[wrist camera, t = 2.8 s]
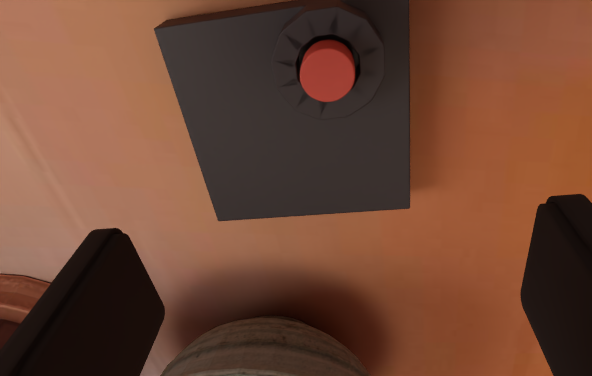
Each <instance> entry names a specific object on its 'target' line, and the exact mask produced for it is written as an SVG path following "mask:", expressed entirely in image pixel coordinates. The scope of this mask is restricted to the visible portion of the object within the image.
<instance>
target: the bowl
mask: <svg viewBox="0 0 592 376" xmlns="http://www.w3.org/2000/svg"><path fill="white" fill-rule="evenodd" d="M161 376H371V375H370V374H369V372H368V371H367V369H366V368H365V367H364V366H363V364H362V363H361V362H360V360H359V359H358V358H357V357H356V356H355V355H354V354H353V353H352V352H351V351H350V350H349V349H348V348H346V347H345V346H344V345H342V344H341V343H340V342H338V341H337V340H336V339H334V338H333V337H331V336H330V335H328V334H326V333H324V332H322V331H320V330H318V329H316V328H314V327H311V326H309V325H307V324H305V323H304V322H302V321H299V320H296V319H293V318H289V317H283V316H270V315H267V316H259V317H254V318H251V319H244V320H237V321H234V322H230V323H226V324H223V325H219V326H217V327H215V328H213V329H211V330H210V331H208V332H206V333H204V334H202V335H201V336H200V337H198V338H197V339H195V340H194V341H193V342H192V343H191V344H190V345H188V346H187V347H186V348H185V349H184V350H183V351H182V352H181V353H180V354H179V355H178V356H177V357H176V358H175V359H174V360H173V361H172V362H171V363H170V364H169V365H168V366H167V367H166V368H165V370H164V371H163V373H162V374H161Z"/></svg>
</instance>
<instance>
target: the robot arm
mask: <svg viewBox="0 0 592 376" xmlns="http://www.w3.org/2000/svg"><path fill="white" fill-rule="evenodd" d="M521 302H522V306H523V309H524V311H525V313H526V315H527V318H528V320H529V322H530V324H531V327H532V329H533V331H534V333H535V335H536V338H537V340H538V342H539V344H540V347H541V349H542V351H543V353H544V355H545V358H546V360H547V362H548V364H549V367H550V369H551V371H552V373H553V375H554V376H592V203H591V202H590V201H589V200H588V198H587V197H586V196H584V195H582V194H574V195H560V196H551V197H549V198H548V199H547V202H546V204H540V205H539V206H538V209H537V213H536V218H535V223H534V228H533V233H532V238H531V243H530V248H529V253H528V258H527V263H526V268H525V272H524V277H523V282H522V287H521ZM164 316H165V308H164V305H163V302H162V301H161V299H160V297H159V295H158V293H157V291H156V289H155V287H154V285H153V283H152V281H151V279H150V277H149V275H148V273H147V271H146V269H145V267H144V265H143V263H142V261H141V259H140V257H139V255H138V253H137V251H136V249H135V247H134V246H133V244H132V242H131V240H130V238H129V236H128V235H127V234H124V233H123V232H122V231H121V230H120V229H118V228H110V229H96V230H93V231H91V232H90V233H89V234H88V236H87V237H86V238H85V240H84V241H83V242H82V244H81V245H80V246H79V248H78V249H77V250H76V251H75V253H74V254H73V255H72V257H71V258H70V259H69V261H68V262H67V263H66V265H65V266H64V267H63V269H62V270H61V271H60V272H59V274H58V275H57V276H56V278H55V279H54V280H53V282H52V283H51V284H50V286H49V287H48V288H47V289H46V291H45V292H44V293H43V295H42V296H41V297H40V299H39V300H38V301H37V303H36V304H35V305H34V306H33V308H32V309H31V310H30V312H29V313H28V314H27V316H26V317H25V318H24V320H23V321H22V322H21V324H20V325H19V326H18V327H17V329H16V330H15V331H14V333H13V334H12V335H11V337H10V338H9V339H8V341H7V342H6V343H5V344H4V346H3V347H2V348H1V350H0V376H140V374H141V371H142V369H143V367H144V364H145V362H146V360H147V357H148V355H149V353H150V350H151V348H152V346H153V343H154V341H155V339H156V336H157V334H158V332H159V329H160V327H161V325H162V322H163V320H164Z"/></svg>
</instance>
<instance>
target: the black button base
mask: <svg viewBox="0 0 592 376" xmlns="http://www.w3.org/2000/svg"><path fill="white" fill-rule="evenodd" d="M154 31H155V34H156V37H157V40H158V43H159V46H160V49H161V52H162V55H163V58H164V61H165V64H166V67H167V70H168V73H169V76H170V78H171V81H172V84H173V87H174V90H175V93H176V96H177V99H178V102H179V105H180V108H181V111H182V114H183V117H184V120H185V123H186V126H187V129H188V132H189V135H190V138H191V141H192V144H193V147H194V150H195V153H196V156H197V159H198V162H199V165H200V168H201V171H202V174H203V177H204V180H205V183H206V186H207V189H208V192H209V195H210V198H211V201H212V204H213V207H214V210H215V213H216V216H217V219H218V221H228V220H243V219H258V218H274V217H289V216H304V215H319V214H334V213H349V212H364V211H379V210H394V209H409V208H410V71H409V0H295V1H288V2H282V3H275V4H269V5H262V6H256V7H249V8H243V9H236V10H230V11H223V12H217V13H210V14H204V15H197V16H191V17H184V18H178V19H171V20H166V21H165V22H163V23H162V24H160V25H159V26H157V27H156V28H154ZM328 39H330V40H336V41H339V42H341V43H343V44H344V45H345V46H347V47H348V49H349V50H350V51H351V53H352V55H353V58H354V63H355V81H354V84H353V86H352V88H351V90H350V91H349V92H348V93H347V94H346V95H345V96H344V97H342V98H341V99H339V100H336V101H332V102H322V101H318V100H316V99H314V98H312V97H311V96H309V95H308V94H307V93H306V92H305V90H304V89H303V87H302V85H301V81H300V69H301V65H302V61H303V57H304V55H305V53H306V51H307V50H308V49H309V48H310V47H311V46H312V45H313V44H315V43H316V42H318V41H321V40H328Z"/></svg>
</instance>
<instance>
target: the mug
mask: <svg viewBox="0 0 592 376" xmlns="http://www.w3.org/2000/svg"><path fill="white" fill-rule="evenodd" d="M49 286H50V283H47V282H43V281H39V280H36V279H32V278H28V277H25V276H12V275H0V350H1V348H2V347H3V346H4V344H5V343H6V342H7V341H8V339H9V338H10V337H11V335H12V334H13V333H14V331H15V330H16V329H17V327H18V326H19V325H20V324H21V322H22V321H23V320H24V318H25V317H26V316H27V314H28V313H29V312H30V310H31V309H32V308H33V306H34V305H35V304H36V303H37V301H38V300H39V299H40V297H41V296H42V295H43V293H44V292H45V291H46V289H47V288H48V287H49Z"/></svg>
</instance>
